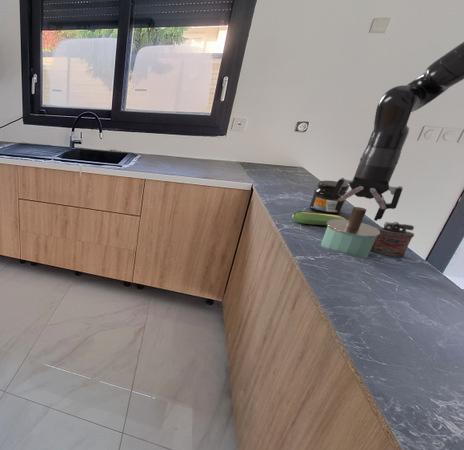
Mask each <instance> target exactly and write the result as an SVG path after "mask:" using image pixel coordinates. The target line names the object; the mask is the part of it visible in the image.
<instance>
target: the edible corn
mask: <svg viewBox="0 0 464 450" xmlns="http://www.w3.org/2000/svg"><path fill="white" fill-rule="evenodd" d="M291 218H293V220H294V221H295V222H296V223H299V224H301V225H311V226H312V225H313V226H314V225H315V226H327V221H329V220H333V219H343V220H349V218H350V217H345V216H341V215H330V214H323V213H316V212H313V211H308V210H307V211H305V210H298V211H297V212H295V213H294V214H292V215H291Z"/></svg>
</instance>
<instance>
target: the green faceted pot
mask: <svg viewBox="0 0 464 450" xmlns="http://www.w3.org/2000/svg"><path fill="white" fill-rule="evenodd" d="M375 239H376V237H357V236H352V235H347V234H344V233H340V232H337V231H335V230H333V229H331V228H329V227H328V226H327V225H326V228H325V231H324V235H323V238H322V240H321V243H320V246H321V248H325V249H327V250H331V251H336V252H339V253H343V254H346V255H350V256H354V257H358V258H361V259H367V258H368V257H369V254H370V253H371V251H370V250H371V248H372V246H373V243H374V241H375Z"/></svg>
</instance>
